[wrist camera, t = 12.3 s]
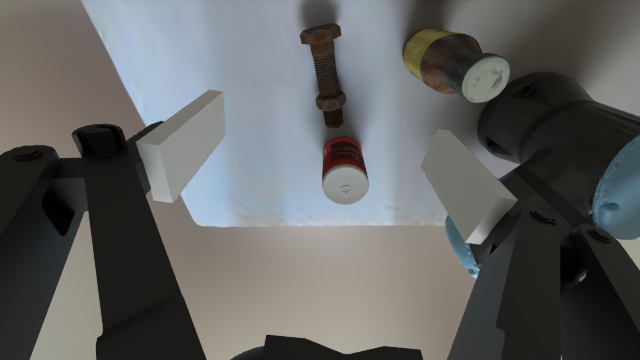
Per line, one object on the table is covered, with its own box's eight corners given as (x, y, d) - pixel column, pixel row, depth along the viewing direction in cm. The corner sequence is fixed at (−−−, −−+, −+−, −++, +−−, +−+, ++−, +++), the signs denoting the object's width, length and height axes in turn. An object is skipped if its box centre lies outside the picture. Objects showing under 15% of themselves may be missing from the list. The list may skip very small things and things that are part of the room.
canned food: (335, 175, 52) (337, 211, 43) (315, 147, 48) (312, 179, 39) (368, 159, 49) (377, 193, 40) (349, 128, 46) (355, 158, 37)
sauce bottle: (450, 49, 38) (542, 83, 21) (415, 81, 40) (475, 131, 24) (425, 15, 35) (509, 24, 19) (391, 51, 38) (438, 85, 22)
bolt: (330, 117, 46) (315, 25, 37) (354, 118, 44) (344, 21, 35) (314, 131, 43) (293, 34, 34) (339, 134, 40) (324, 29, 31)
